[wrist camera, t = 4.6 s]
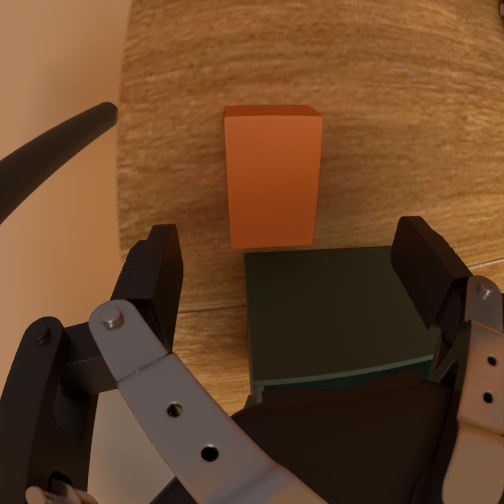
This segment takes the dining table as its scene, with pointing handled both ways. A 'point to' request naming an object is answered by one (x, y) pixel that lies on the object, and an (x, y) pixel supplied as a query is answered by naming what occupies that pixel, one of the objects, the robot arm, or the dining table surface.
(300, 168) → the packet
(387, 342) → the dark green box
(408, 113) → the dining table surface
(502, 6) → the egg carton
